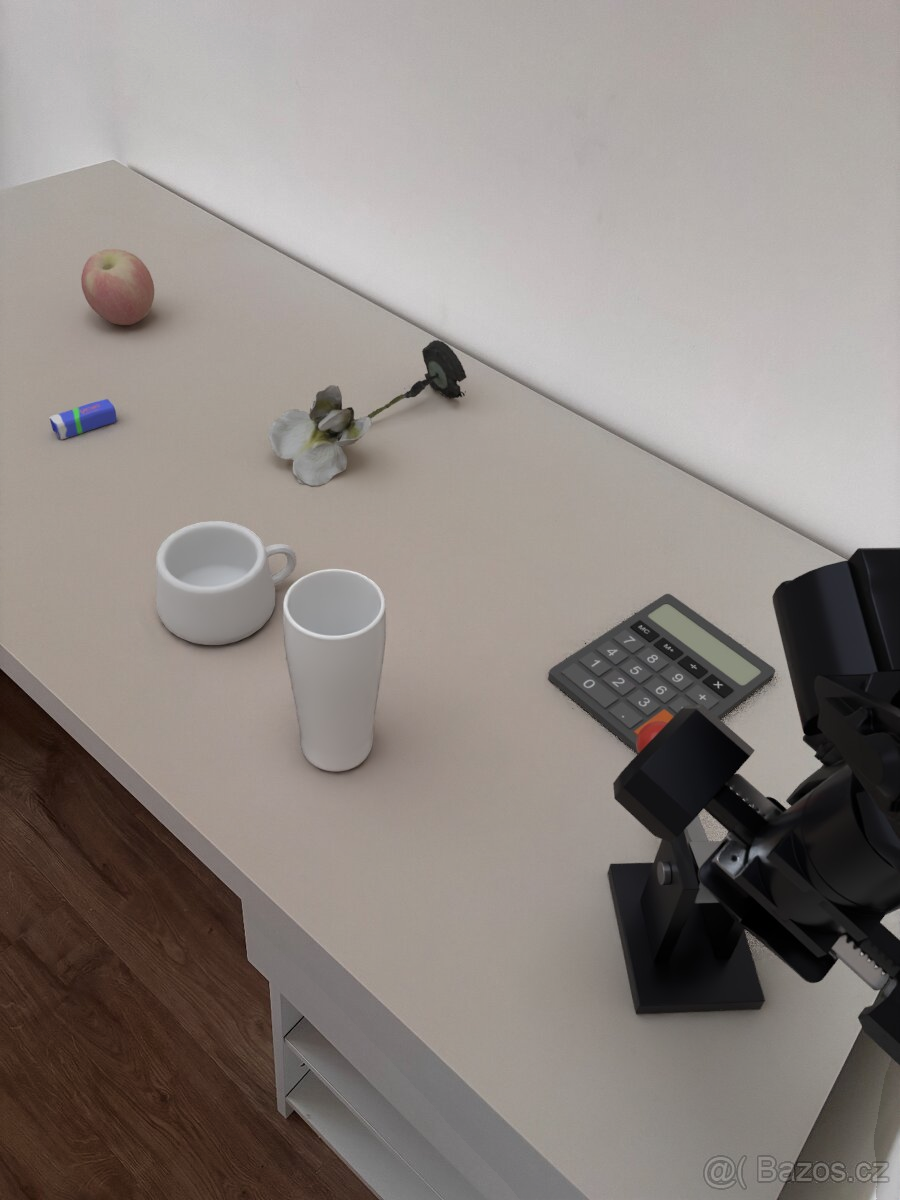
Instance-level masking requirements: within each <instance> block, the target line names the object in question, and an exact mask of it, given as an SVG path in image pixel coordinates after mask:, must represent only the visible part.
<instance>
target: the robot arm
mask: <svg viewBox="0 0 900 1200" xmlns="http://www.w3.org/2000/svg"><path fill="white" fill-rule="evenodd" d="M771 597H772V605H773V609H774V614H775V618H776V622H777V627H778V631H779V635H780V636H779V637H780V640H781V644H782V648H783V652H784V657H785V660H786V665H787V670H788V674H789V678H790V682H791V686H792V690H793V695H794V699H795V704H796V708H797V712H798V715H799V720H800V724H801V729H802V732H803V734H804V735H803V736H802V741H803V743H805V744H806V745H807V746H809V747H810V748H811V749H812V751H814V752H815V754H814V756H813V757H814V758H815V759H817V760H818V761H819V762H820V763H821V764H822V765H821V766H820V768H818V769H816V770H815V771H814V772H813V773H811V774H810V775H809V776H808V777H806V778H805V779H803V781H801V782H800V783H799V784H798V786H797V787H796V788H795V789H794V790H793V792H791V793H790V795H789V796H788V797H787V798H786V799H785V802H786V803H787V804H788V805H789V807H788V808H786V807H785V806H784V805H783V804H781V802H779V801H778V800H777V799H775V797H772V796H765V795H764V794H763V793H762V792H761V791H759V789H757V788H756V787H755V786H754V785H753V784H751V782H749V780H747V779H746V778H745V777H744V776H742V774H740V773H737V772H738V771H739V770H740V769H741V767H742V766H743V765H744V764H745V763H746V762H747V761H748V760H749V759H750V758H751V756H752V755H753V754H754V752H755V751H756V749H754V748H753V747H752V746H751V745H749V743H747V742H746V740H744V739H743V738H741V736H739V734H737V733H735V732H734V731H733V729H731V728H730V727H729V726H728V725H727V724H726V723H725V722H723V721H722V720H721V719H719V718H717V717H716V716H715V715H714V714H713V713H712V712H711V711H709V710H708V709H707V708H706V707H705V706H704V705H703V704H697V705H685V706H684V707H683V708H682V709H681V710H680V711H679V712H678V713H677V714H676V715H675V716H674V717H673V718H672V719H671V720H670V721H669V722H668V723H667V724H666V725H665V726H664V727H663V728H662V730H661V731H660V732H659V733H658V734H657V735H656V736H655V737H654V738H653V739H652V740H651V741H650V742H649V743H648V744H647V745H646V746H645V747H644V748H643V749H642V750H641V751H640V753H639V754H638V753H637V755H635V756H634V758H633V759H632V760H631V761H630V762H629V763H628V764H627V765H626V767H624V768H623V770H622V771H621V772H620V773H619V775H617V777H616V778H615V780H614V781H613V783H612V785H613V795H614V797H613V798H614V800H615V801H616V802H617V803H618V804H620V806H622V808H624V809H625V810H626V811H627V812H628V813H629V814H630V815H631V816H632V817H633V818H635V820H637V821H638V822H639V823H640V824H641V825H642V826H643V827H644V828H645V829H646V830H647V831H648V832H649V833H650V834H651V835H653V836H654V837H656V838H658V839H661V840H662V839H663V840H665V841H667V842H670V843H672V842H673V841H674V840H675V839H676V838H677V837H678V836H679V835H680V834H681V833H682V832H683V831H684V830H685V828H686V827H687V826H688V825H689V824H690V823H691V822H692V821H693V820H694V819H695V818H696V817H697V816H699V815H700V814H701V812H702V811H703V810H705V811H706V812H707V813H708V814H709V815H710V816H711V817H712V818H713V819H714V820H716V822H718V823H719V825H721V827H723V828H724V829H725V830H727V833H728V831H729V833H728V834H727V833H726V835H727V836H726V835H725V837H724V838H723V839H722V840H721V841H722V843H721V844H720V845H719V846H718V847H717V848H716V850H715V851H714V852H713V853H712V854H711V855H710V856H709V858H708V859H707V860H706V861H705V862H704V863H703V865H702V866H701V867H700V868H699V871H698V879H699V881H700V883H701V884H702V885H703V886H704V887H705V888H706V889H707V890H708V891H709V892H710V893H711V894H712V895H713V896H714V897H715V898H716V899H717V900H718V902H719V903H720V904H721V905H722V906H723V907H724V908H725V910H726V911H727V912H728V913H729V915H730V916H731V917H732V918H733V919H734V920H735V921H737V923H738V924H739V925H741V926H742V927H743V928H744V929H745V932H747V933H749V934H750V936H752V937H753V938H755V939H756V940H757V941H758V942H760V944H762V945H763V946H764V947H765V948H766V949H768V950H769V951H770V952H771V953H772V954H774V955H775V956H776V957H777V958H778V959H779V960H781V962H783V963H784V964H785V965H786V966H788V967H789V968H790V969H791V970H792V971H793V972H795V973H796V974H797V975H798V976H799V977H800V978H801V979H802V980H804V981H805V982H807V983H810V984H817V983H820V982H822V981H823V980H824V979H825V978H826V976H827V975H828V974H829V972H830V971H831V970H832V968H833V967H834V966H835V965H836V963H837V962H838V961H839V960H840V961H841V962H842V963H843V964H844V965H846V966H847V967H848V968H849V969H850V970H851V971H852V972H853V973H854V974H855V975H856V976H858V978H860V979H861V981H863V982H864V983H865V984H866V986H869V988H871V990H873V991H881V990H883V989H884V988H885V989H884V991H882V993H881V995H879V997H878V998H877V1000H876V1002H875V1003H874V1004H872V1005H868V1006H864V1007H863V1009H862V1011H861V1012H860V1014H859V1015H858V1016H857V1019H858V1021H859V1024H860V1026H861V1028H862V1030H863V1032H864V1034H865V1035H867V1036H868V1037H869V1038H870V1039H871V1040H872V1041H873V1042H874V1043H875V1044H876V1045H877V1046H879V1048H881V1049H882V1050H883V1051H884V1052H885V1053H886V1054H887V1055H888V1056H889V1057H890V1058H891V1059H892V1060H893V1061H894V1062H896V1063H897V1064H898V1065H899V1066H900V938H899V937H897V936H896V935H895V934H894V933H893V932H892V931H891V930H890V929H888V928H887V927H886V926H885V925H884V924H883V923H881V922H882V920H883V919H884V917H885V916H887V915H889V914H891V913H894V912H896V911H898V910H900V547H858V548H857V549H856V550H855V551H854V552H853V553H852V554H851V556H850V557H849V558H848V559H847V560H842V561H837V562H834V563H830V564H825V565H822V566H820V567H817V568H814V569H812V570H809V571H807V572H804V573H803V574H801V575H798V576H797V577H795V578H793V579H790V580H784V581H782V582H781V583H779V584H778V586H777V587H776V588H775V590H774V592H773V594H772V596H771ZM861 953H862V955H861ZM868 960H869V961H868ZM890 980H891V981H890ZM889 981H890V982H889ZM888 982H889V983H888ZM886 985H887V986H886ZM885 986H886V987H885Z"/></svg>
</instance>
